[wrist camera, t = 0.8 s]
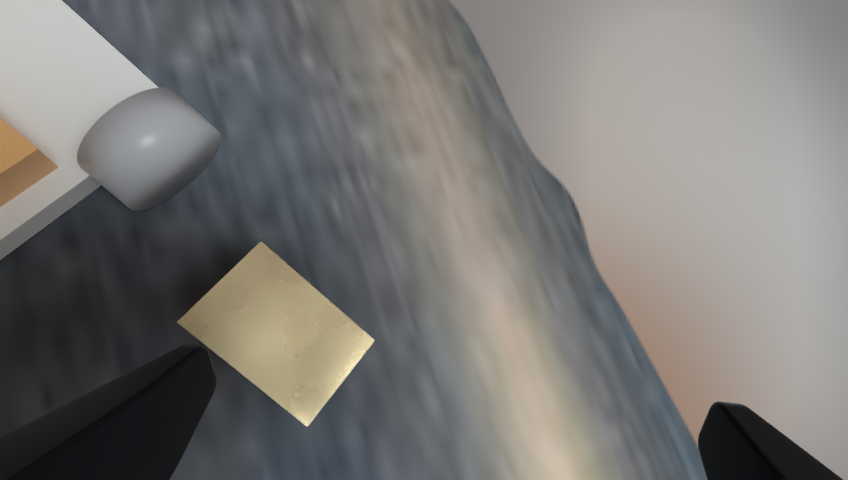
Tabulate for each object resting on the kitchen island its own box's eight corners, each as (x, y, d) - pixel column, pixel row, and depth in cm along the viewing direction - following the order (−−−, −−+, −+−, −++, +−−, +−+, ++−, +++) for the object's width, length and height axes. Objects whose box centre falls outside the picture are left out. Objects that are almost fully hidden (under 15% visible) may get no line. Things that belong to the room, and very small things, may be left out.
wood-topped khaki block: (290, 402, 21) (307, 427, 16) (194, 324, 20) (176, 322, 15) (343, 338, 23) (375, 340, 17) (256, 263, 22) (261, 241, 16)
